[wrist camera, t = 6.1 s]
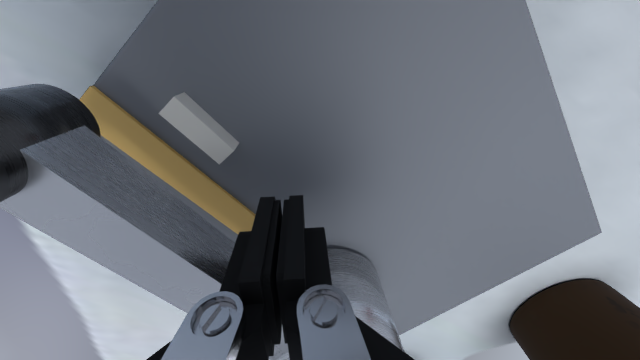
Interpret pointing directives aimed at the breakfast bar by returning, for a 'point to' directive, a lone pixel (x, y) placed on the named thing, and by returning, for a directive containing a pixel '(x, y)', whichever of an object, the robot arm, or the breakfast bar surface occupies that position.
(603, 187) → the breakfast bar surface
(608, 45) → the breakfast bar surface
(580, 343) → the olive oil
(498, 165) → the grey flat square slab
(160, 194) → the metal ladle
